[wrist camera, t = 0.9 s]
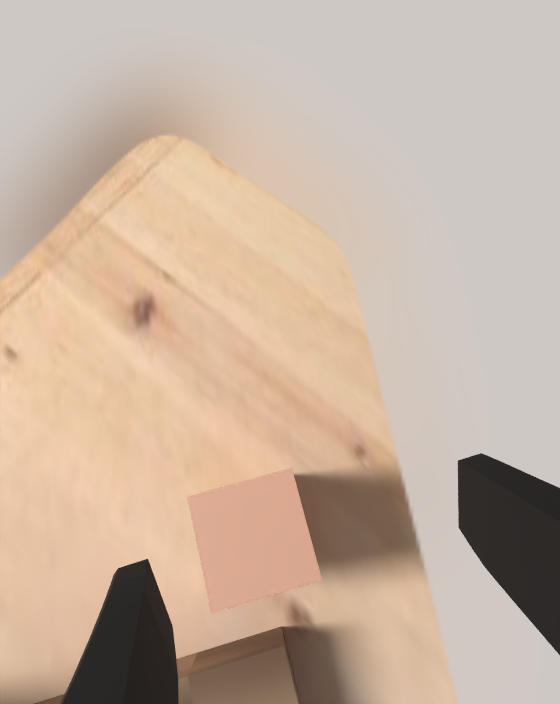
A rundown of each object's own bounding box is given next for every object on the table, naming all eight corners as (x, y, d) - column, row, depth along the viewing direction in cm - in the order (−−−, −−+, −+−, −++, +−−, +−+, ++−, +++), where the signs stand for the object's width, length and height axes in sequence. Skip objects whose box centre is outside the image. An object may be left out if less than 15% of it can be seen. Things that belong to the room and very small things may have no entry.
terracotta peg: (303, 552, 25) (322, 579, 17) (228, 574, 24) (211, 613, 17) (283, 474, 26) (291, 467, 18) (210, 494, 25) (187, 496, 18)
